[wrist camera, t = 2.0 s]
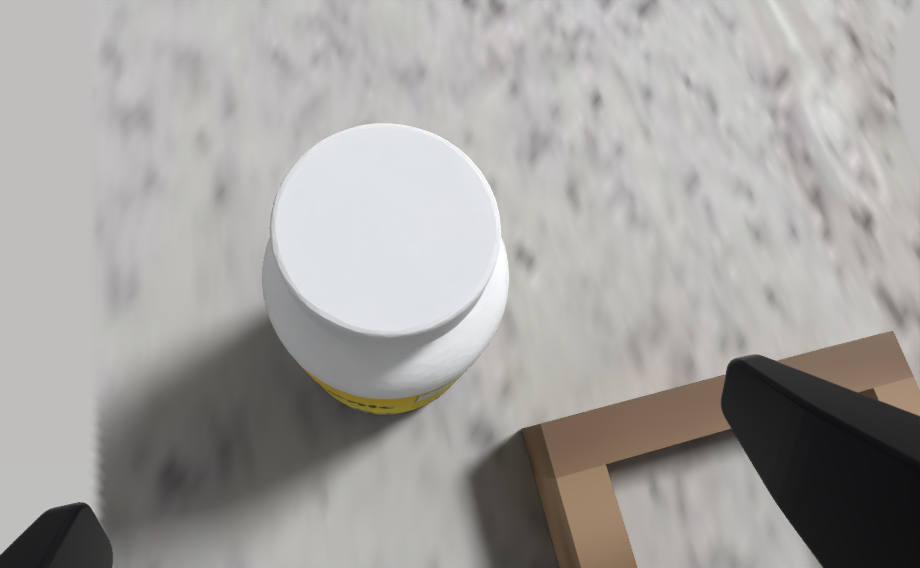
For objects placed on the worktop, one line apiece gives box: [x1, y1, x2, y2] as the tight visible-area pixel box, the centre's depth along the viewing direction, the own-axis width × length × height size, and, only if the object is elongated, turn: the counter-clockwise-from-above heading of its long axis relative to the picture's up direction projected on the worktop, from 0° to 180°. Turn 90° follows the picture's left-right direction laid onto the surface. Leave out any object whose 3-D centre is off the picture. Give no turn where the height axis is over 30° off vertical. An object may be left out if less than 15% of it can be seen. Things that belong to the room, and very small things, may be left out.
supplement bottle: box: [262, 123, 509, 415], centre depth 15 cm, size 5×5×10 cm
